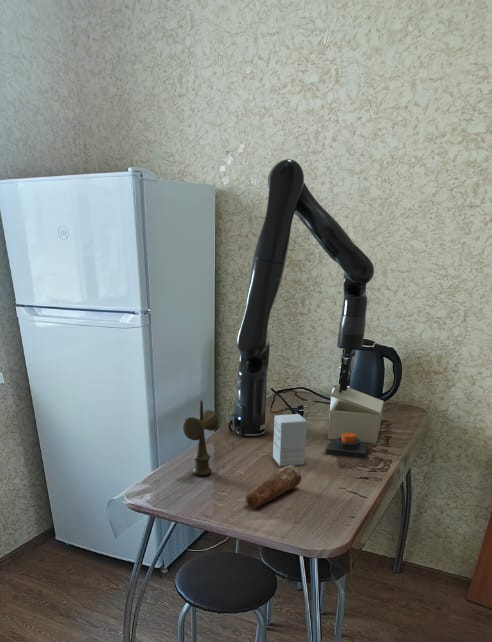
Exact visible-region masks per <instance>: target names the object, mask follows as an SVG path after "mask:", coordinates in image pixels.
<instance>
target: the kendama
mask: <svg viewBox="0 0 492 642" xmlns="http://www.w3.org/2000/svg"><path fill="white" fill-rule="evenodd" d="M219 422H220V420H219V416H218V414H217V413H216V412H215V411H213V410H210V409H206V410H204V401H203V400H202V399H201V400H200V401H199V418H197V417H194V416H190V417H187V418H185V419H184V421H183V423H182V424H183V425H182V431H183V433H184V435H185V437H186V438H187V439H189V440H191V441H197V449H196V452H195V454H194V456H193V460H194V463H195V464H194V468H193V469H192V474H193V475H195V476H199V477H200V476H201V477H203V476H204V477H205V476H208V475H211V473H212V468H211V467H210V464H209V461H210V459H211V455H210V454H209V453H208V450H207V444H206V436H205V435H206V434H205V430H207V431H210V432H211V431H215V430H217V428H218V427H219V424H220V423H219Z"/></svg>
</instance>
